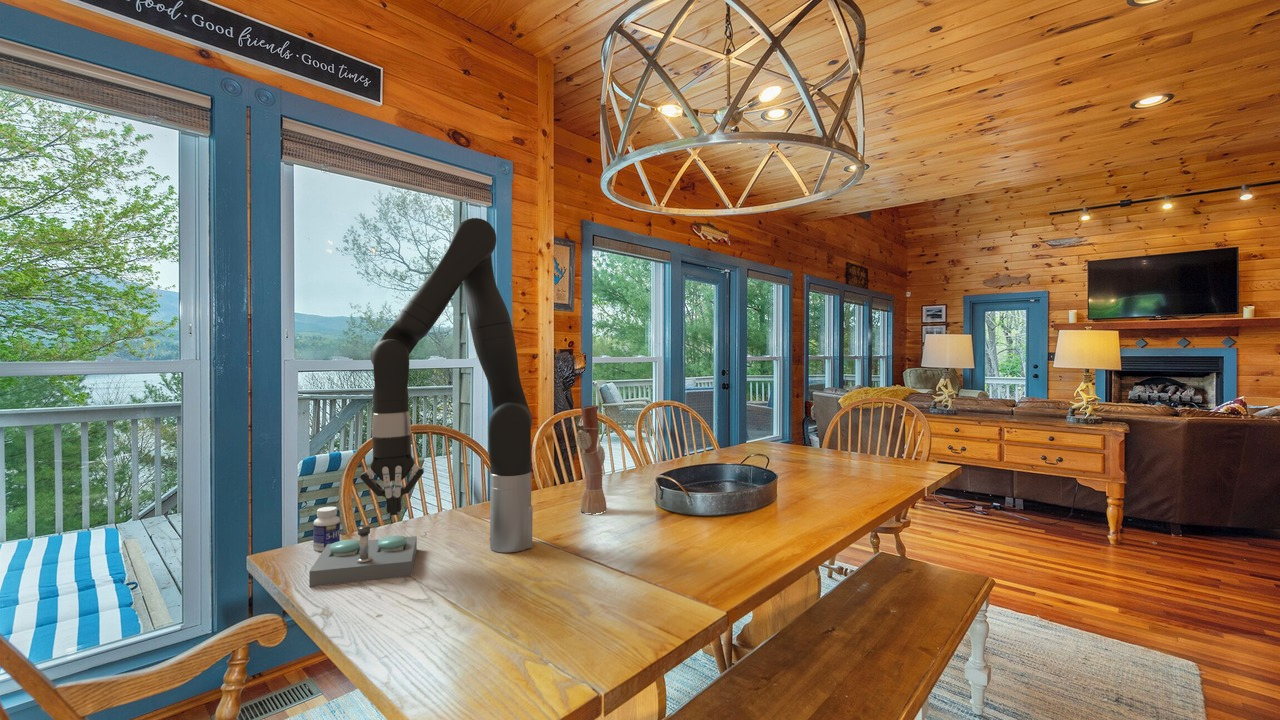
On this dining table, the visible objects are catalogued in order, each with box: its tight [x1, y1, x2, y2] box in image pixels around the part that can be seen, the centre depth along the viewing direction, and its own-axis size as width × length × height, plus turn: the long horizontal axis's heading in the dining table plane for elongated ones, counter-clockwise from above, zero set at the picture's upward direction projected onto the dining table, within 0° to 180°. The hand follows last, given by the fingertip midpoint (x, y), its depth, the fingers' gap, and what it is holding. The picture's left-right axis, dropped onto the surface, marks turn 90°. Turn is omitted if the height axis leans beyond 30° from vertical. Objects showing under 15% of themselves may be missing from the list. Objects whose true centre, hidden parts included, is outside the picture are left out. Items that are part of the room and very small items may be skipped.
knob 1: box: [330, 539, 360, 556], centre depth 119 cm, size 6×6×4 cm
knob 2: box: [377, 535, 407, 552], centre depth 121 cm, size 6×6×4 cm
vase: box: [576, 404, 607, 514], centre depth 159 cm, size 10×7×30 cm
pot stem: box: [356, 525, 372, 563], centre depth 113 cm, size 3×3×7 cm
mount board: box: [308, 535, 418, 588], centre depth 118 cm, size 18×16×3 cm
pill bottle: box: [312, 506, 341, 552], centre depth 129 cm, size 5×5×9 cm
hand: (394, 514), depth 121 cm, fingers closed
